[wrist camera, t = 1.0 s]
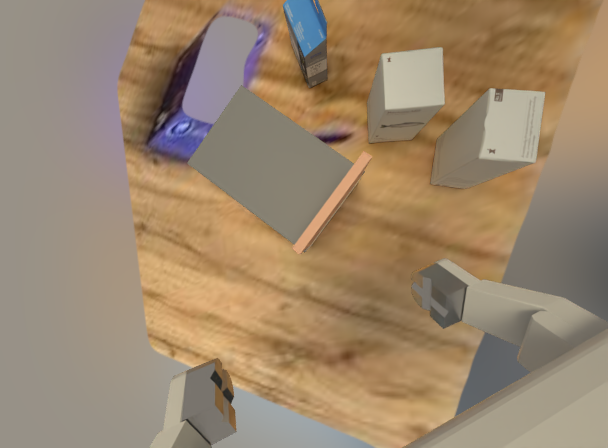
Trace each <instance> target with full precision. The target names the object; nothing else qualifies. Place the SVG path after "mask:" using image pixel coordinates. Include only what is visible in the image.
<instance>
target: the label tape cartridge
mask: <svg viewBox="0 0 608 448" xmlns="http://www.w3.org/2000/svg"><path fill="white" fill-rule="evenodd" d="M315 3H316V7H317V9H318V11H317V9H316V7H315V4H314V2H313V0H287V1H286V2H285V3H284V4H283V9H284V13H285V17H286V22H287V26H288V30H289V34H290V39H291V44H292V47H293V50H294V52H295V55H296V57H297V60H298V62H299V65H300V67H301V70H302V72H303V75H304V77H305V80H306V82H307V84H308V87H309V88H311V87H313V86H315V85H317V84H319V83H321V82H323V81H325V80H327V45H326V44H327V43H326V36H327V21H326V18H325V16H324V13H323V11H322V9H321V6H320V4H319V1H318V0H315ZM318 12H319V14H318Z"/></svg>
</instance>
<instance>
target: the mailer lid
mask: <svg viewBox="0 0 608 448" xmlns="http://www.w3.org/2000/svg"><path fill="white" fill-rule="evenodd" d="M371 158H372V156H370V155H369V154H368V153H366V152H365V151H363V153H362V154H361V155H360V157H359V158H358V160H357V161H356V162H355V164H354V163H352V162H351V161H349V160H348V159H346V158H345V157H343V156H342V155H341V154H339V153H338V152H336V151H335V150H333V149H332V148H331V147H329V146H328V145H326V144H325V143H323V142H322V141H321V140H319V139H318V138H316V137H315V136H313V135H312V134H311V133H309V132H308V131H306V130H305V129H303V128H302V127H301V126H299V125H298V124H296V123H295V122H293V121H292V120H291V119H289V118H288V117H286V116H285V115H283V114H282V113H281V112H279V111H278V110H276V109H275V108H273V107H272V106H270V105H269V104H268V103H266V102H265V101H263V100H262V99H260V98H259V97H258V96H256V95H255V94H253V93H252V92H250V91H249V90H248V89H246V88H245V87H243V86H242V85H241V86H240V88H239V89H238V91H237V92H236V94H235V95H234V96H233V98H232V99H231V101H230V102H229V104H228V105H227V107H226V108H225V109H224V111H223V112H222V114H221V115H220V117H219V118H218V120H217V121H216V122H215V124H214V125H213V127H212V128H211V130H210V131H209V132H208V134H207V135H206V137H205V138H204V140H203V141H202V143H201V144H200V145H199V147H198V148H197V150H196V151H195V153H194V154H193V156H192V157H191V158H190V160H189V161H188V163H187V164H189V165H190V166H191V167H193V168H194V169H195V170H197V171H198V172H199V173H201V174H202V175H203V176H205V177H206V178H207V179H209V180H210V181H211V182H212V183H214V184H215V185H216V186H218V187H219V188H220V189H222V190H223V191H224V192H226V193H227V194H228V195H230V196H231V197H232V198H234V199H235V200H236V201H238V202H239V203H240V204H241V205H243V206H244V207H245V208H247V209H248V210H249V211H251V212H252V213H253V214H255V215H256V216H257V217H259V218H260V219H261V220H263V221H264V222H265V223H266V224H268V225H269V226H270V227H272V228H273V229H274V230H276V231H277V232H278V233H280V234H281V235H282V236H284V237H285V238H286V239H288V240H289V241H290V242H292V243H293V244H294V246H293V248H292V249H293V250H294V251H296V252H297V253H298V254H301V253H302V252H305V251H306V250H307V249H308V247H309V246H310V245H311V243H312V242H313V241H314V239H315V238H316V237H317V235H318V234H319V233H320V231H321V230H322V229H323V227H324V226H325V224H326V223H327V222H328V220H329V219H330V218H331V216H332V215H333V214H334V212H335V211H336V210H337V208H338V207H339V206H340V204H341V203H342V202H343V200H344V199H345V198H346V196H347V195H348V194H349V192H350V191H351V190H352V188H353V187H354V185H355V184H356V183H357V181H358V180H359V179H360V177H361V176H362V175H363V173H364V172H365V171H364V170H365V168H366V167H367V165H368V163H369V162H370V160H371Z"/></svg>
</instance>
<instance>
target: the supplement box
mask: <svg viewBox="0 0 608 448" xmlns="http://www.w3.org/2000/svg"><path fill="white" fill-rule="evenodd" d="M444 104H445V97H444V74H443V48H442V47H437V48H429V49H420V50H409V51H402V52H393V53H383V54H381V57H380V61H379V64H378V67H377V71H376V74H375V78H374V81H373V84H372V88H371V91H370V95H369V98H368V101H367V115H368V140H369V143H376V142H386V141H402V140H412V139H413V138H414V137H415V136H416V135H417V133H418V132H419V131H420V130H421V129H422V128H423V127H424V126H425V125H426V124H427V123H428V122H429V121H430V120H431V118H432V117H433V116H434V115H435V114H436V113H437V112H438V111H439V110H440V109H441V108H442V107H443V106H444Z"/></svg>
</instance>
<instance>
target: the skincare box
mask: <svg viewBox="0 0 608 448" xmlns="http://www.w3.org/2000/svg"><path fill="white" fill-rule="evenodd" d="M544 99H545V92H539V91H525V90H510V89H494V88H490V89H488V90H487V91H486V92H485V93H484V94H483V95H482V96H481V97H480V98H479V99H478V100H477V101H476V102H475V103H474V104H473V105H472V106H471V107H470V108H469V109H468V110H467V111H466V112H465V113H464V114H463V115H462V116H461V117H460V118H458V119H457V120H456V121H455V122H454V123H453V124H452V125H451V126H450V127H449V128H448V129H447V130H446V131H445V132H444V133H443V134H442V135H441V136H440V137H439V138H438V139H437V142H436V148H435V155H434V161H433V168H432V177H431V182H430V184H432V185H439V186H447V187H454V188H462V189H467V188H469V187H472V186H475V185H478V184H480V183H483V182H485V181H488V180H491V179H493V178H496V177H499V176H501V175H504V174H506V173H509V172H512V171H514V170H517V169H520V168H522V167H525V166H527V165H530V164H533V163H535V162H536V157H537V150H538V142H539V135H540V128H541V121H542V113H543V106H544Z"/></svg>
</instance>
